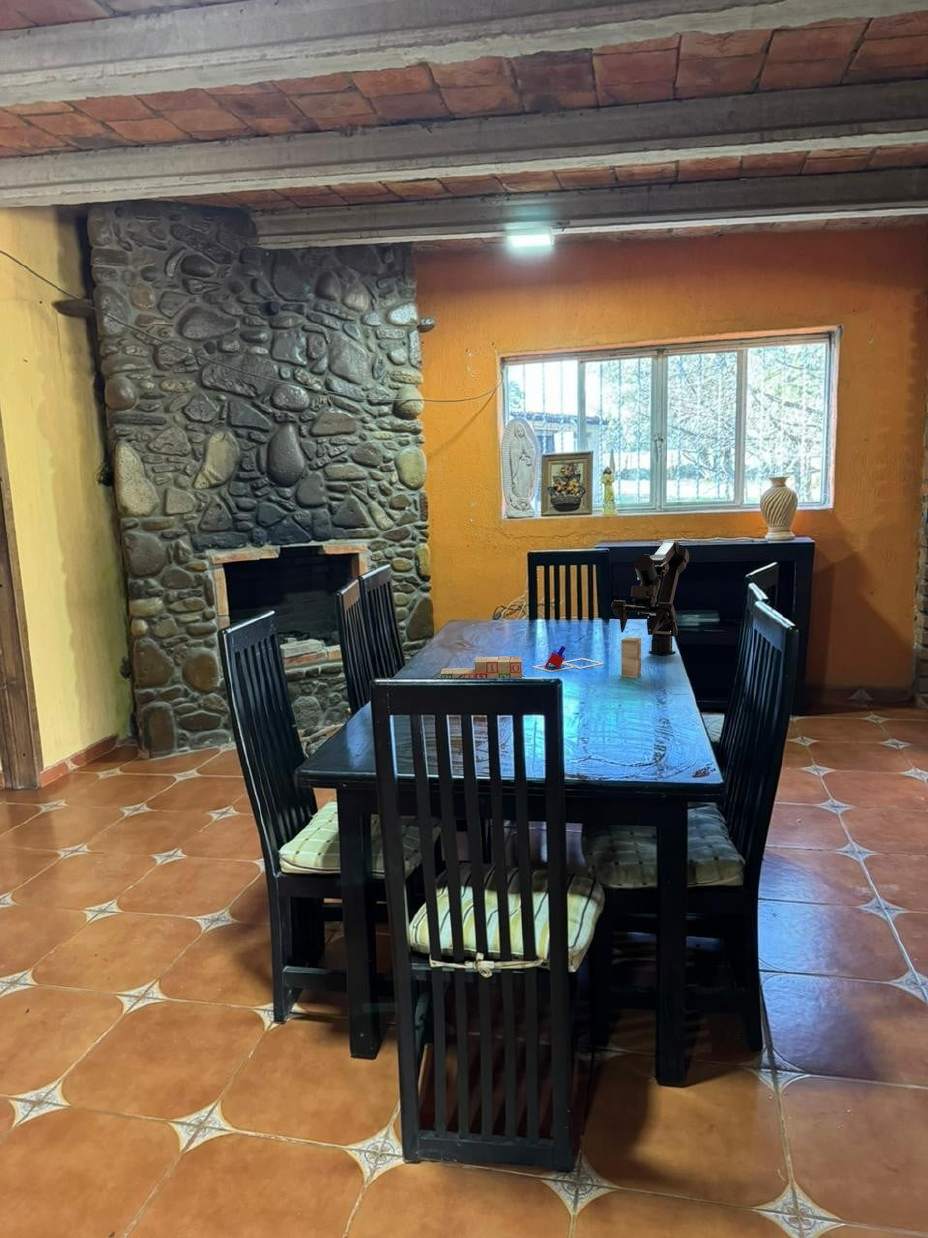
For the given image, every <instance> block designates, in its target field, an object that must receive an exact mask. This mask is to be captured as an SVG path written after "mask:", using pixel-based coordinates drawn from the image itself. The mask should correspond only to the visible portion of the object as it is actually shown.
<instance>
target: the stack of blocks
mask: <svg viewBox="0 0 928 1238" xmlns="http://www.w3.org/2000/svg"><path fill="white" fill-rule="evenodd" d="M522 659H523V658H522V656H508V655H506V656H504V655H503V656H502V655H501V656H476V657H475V659H474V667H470V668H469V667H460V668H459V667H457V668H456V667H455V668H454V667H453V668H452V667H451V668H450V667H448V668H447V667H446V668H445V667H444V668H442V669H441V671H440V679H441V678H522V679H523V668H522V667H523V665H522V663H523V662H522Z"/></svg>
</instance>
